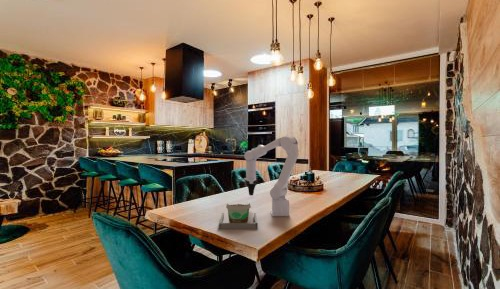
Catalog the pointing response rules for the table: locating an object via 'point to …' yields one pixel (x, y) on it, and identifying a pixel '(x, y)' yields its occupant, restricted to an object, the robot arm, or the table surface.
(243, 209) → the food container
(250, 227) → the dock
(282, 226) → the table surface
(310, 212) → the table surface
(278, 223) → the table surface
